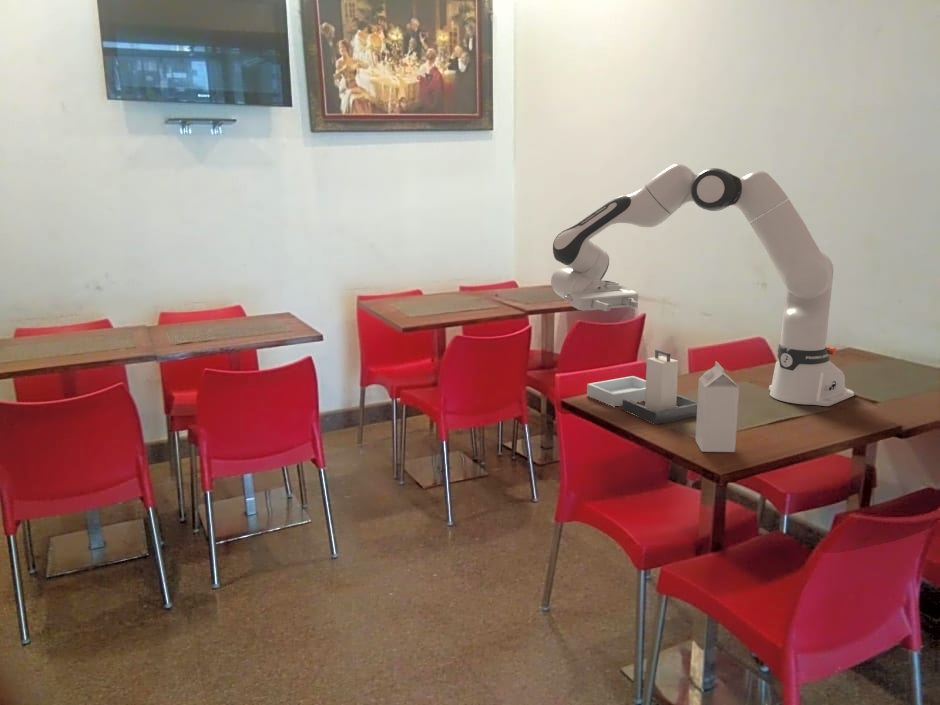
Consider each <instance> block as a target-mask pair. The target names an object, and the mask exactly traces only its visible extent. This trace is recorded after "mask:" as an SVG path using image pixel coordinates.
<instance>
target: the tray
mask: <svg viewBox="0 0 940 705" xmlns="http://www.w3.org/2000/svg"><path fill="white" fill-rule="evenodd" d="M587 395H588V396H590V397H589V398H591V397H593V398H595V399H597V400H600V401H602V402H604V403H606V404H605V405H607V404H608V405H607V406H609V405H611V406H613V407H612V408H616V407H615V406H619V405H622V403H623V399H628V400H630V401H632V402H638V401H643V400H645V397H646V379H643V378H641V377H638V376H635V375H631V376H625V377H619V378H613V379H608V380H602V381H597V382H595V381H594V382H591V383H587V384H586V396H587ZM588 396H587V397H588ZM593 398H592V399H593ZM595 399H594V400H595ZM597 400H596V401H597ZM600 401H599V402H600ZM602 402H601V403H602ZM604 403H603V404H604ZM611 406H610V407H611ZM619 407H620V406H619Z"/></svg>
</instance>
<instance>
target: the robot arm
mask: <svg viewBox="0 0 940 705" xmlns="http://www.w3.org/2000/svg"><path fill="white" fill-rule="evenodd" d="M690 202H694V203H695V204H696V205H697V206H698V207H699V208H701V209H702V210H706V211H708V212H709V211H710V212H718V211H722V210H725V209H726V208H729V207H730V206H734V207H736V208H738V209H739V210H740V211H741V212H742V213H743V215H744V217H745V218H746V220H747V222H748V223H749V225H750V226H751V228H752V229H753V231H754V232H755V234H756V236H757V237H758V239H759V240H760V242H761V243H762V245H763V247H764V248H765V251H766V252H767V254H768V256H769V257H770V260H771V262H772V264H773V265H774V268H775V270H776V271H777V274H778V275H779V277H780V278H781V280H782V282H783V283H784V285H785V297H784V303H783V312H782V318H781V319H782V320H781V332H780V333H781V334H780V343H779V344H778V348H777V358H778V360H777V361H776V362H775V364H774V371H773V376H772V380H771V381H772V382H771V384H769V386H768V391H770V392H769V396H770V397H772V398H773V399H775V400H778V401H781V402H783V403H784V402H786V403H791V404H796V405H814V406H821V407H822V406H823V407H829V406H832V405H834V404H837V403H839V402H842V401H844V400H847V399H849V398H851V397H854V396H855V392H854V391H853V390H852V389H849V388H847V387H846V377H845V376H846V375H845V374H844V372H843V370H841V369H840V368H838V366H836V365H835V364H834V363H833V362H832V361H830V359H831V358H830V355H832V356H835V355H836V354H837V351H838V349H837V348H836V347H831V346H828V347H827V340H828V339H827V338H828V337H827V336H828V326H829V317H830V307H831V300H832V299H831V298H832V288H833V278H834V264H833V262H832V260H831V259H830V257H829V256H828V255H827V254H825V253H824V252H823V251H821V250H820V249H819V248H820V247H818V245H817V242H815V240H814V238H813V236H812V234H811V232H810V231H809V229H808V227H807V225H806V223H805V222H804V219H802V217H801V215H800V213H799V212H798V211H797V209H796V208H795V207H794V204H793V203H792V202H791V200H790V199H789V196H788V195H787V194H786V192H785V191H784V189H782V187H781V186H780V185H779V184H778V182H777V181H776V180H775V179H774V178H773V177H772V176H771V175H770V174H769V173H768V172H766V171H764V170H756V171H751V172H749V173H748V174H745V175H744V176H742V177H741V176H740V177H738V176H737V175H734V174H732V173H731V172H730V171H728V170H726V169H723V168H717V167H712V168H707V169H705V170H704V169H703V171H701V172H699V173H698V174H697V173H695V172H694V171H693V170H692V169H691V168H689V166H687V165H684V164H683V163H674V164H672V165H670V166H668V167H667V168H665V169H663V170H662V171H661V172H659V173H658V174H657V175H655V176H654V177H652V178H651V179H650V180H649V181H648V182H646V184H645V185H643V186H642V187H641V188H639V189H637V190H636V191H633V192H632V193H630V194H626V195H618V196H616V197H613V199H611V200H610V201H608V202H606V203H605V204H603V205H602V206H601V207H599V208H598V209H596V210H595V211H594V212H592V213H590V214H589V215H587V216H586V217H585V218H583V219H582V220H580V221H578V222H577V223H576V224H574V225H572V226H570V227H569V228H566V229H564V230H563V231H561V232H559V233H558V234H557V236H555V238H554V240H553V243H552V254H553V257H554V259H555V261H557V262H559V263H561V264H563V265H565V266H564V267H561V268H558V269H556V270H554V272H553V273H552V275H551V277H550V278H551V279H550V283H551V285H550V286H551V288H552V290H553V292H554V293H555V294H556V295H557V296H559V297H561V298H562V299H564V300H566V301H568V302H569V304H570V306H572V307H573V308H575V309H576V310H579V311H596V310H599V311H604V312H610V311H611V309H616V308H626V307H628V308H630V309H632V310H633V309H634V310H635V309H638V308H639V302H638V301H639V294H638V292H636V291H635V290H634V289H633V290H632V289H631V288H628V287H627V286H624V285H623V286H622V285H620V283H619V282H617V281H613V280H604V279H603V278H604V277H605V276H606V273H607V271H608V269H609V266H610V256H609V254H608V253H607V252H606V251H605V250H604V249H602V248H601V247H600V246H598V245H597V244H595V243H594V242H593V241H592V240H591V239H592V238H594V237H595V236H596V235H598V234H600V233H602V232H603V231H604V230H605V229H606V228H608V227H610V226H611V225H614V224H629V225H633V226H635V227H636V226H637V227H639V228H640V227H641V228H654V227H657V226H658V225H660V224H662V223H663V222H665V221H666V220H668V219H669V217H670V216H672V215H673V214H674V213H675V212H676V211H677V210H678V209H680V208H681V207H683V206H684V205H685V204H687V203H690ZM602 279H603V280H602Z"/></svg>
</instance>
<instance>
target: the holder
mask: <svg viewBox="0 0 940 705" xmlns="http://www.w3.org/2000/svg"><path fill="white" fill-rule="evenodd" d="M697 402H698V400H694V399H691V398H690V397H685V396H683V395H680V394H678V393H677V400H676V406H678V407H675V408H670V409H666V410H661V411H655V410H652V409H650V408H647V407H645V405H643V404H640V403H635V402H632V401H630V400H628V399H623V403H622V406H621V407H622V409H623V410H625V411H628V412H630V413H633V414H635V415H637V416H639V417H641V418H643V419H646V420H648V421H650V422H652V423H651V424H653V423H654V424H653V425H655V424H657V425H661V423H662V424H666V423H671V422H675V421H679V419H680V420H683V419H684V418H685V419H689V418H694V417H697ZM622 409H621V410H622ZM623 410H622V411H623ZM625 411H624V412H625ZM630 413H629V414H630ZM637 416H636V417H637ZM693 416H694V417H693ZM639 417H638V418H639ZM688 417H689V418H688ZM641 418H640V419H641ZM643 419H642V420H643ZM646 420H645V421H646ZM674 420H675V421H674ZM648 421H647V422H648ZM670 421H671V422H670ZM650 422H649V423H650Z"/></svg>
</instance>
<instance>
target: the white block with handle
mask: <svg viewBox="0 0 940 705" xmlns="http://www.w3.org/2000/svg"><path fill="white" fill-rule="evenodd" d="M659 354H661V355H659ZM645 370H646V371H645V373H646V374H645V380H646V397H645V401H644V406H645V407H647V408H650V409H652V410H655V411H661V410H666V409H670V408H675V407H676V400H677V394H678V378H679V377H678V375H679V372H678V371H679V360H678V359H677V360H676V359H673V358H671V353H670V352H667V351H663V350H661V349H654V356H653V357H648V358H646V369H645Z"/></svg>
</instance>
